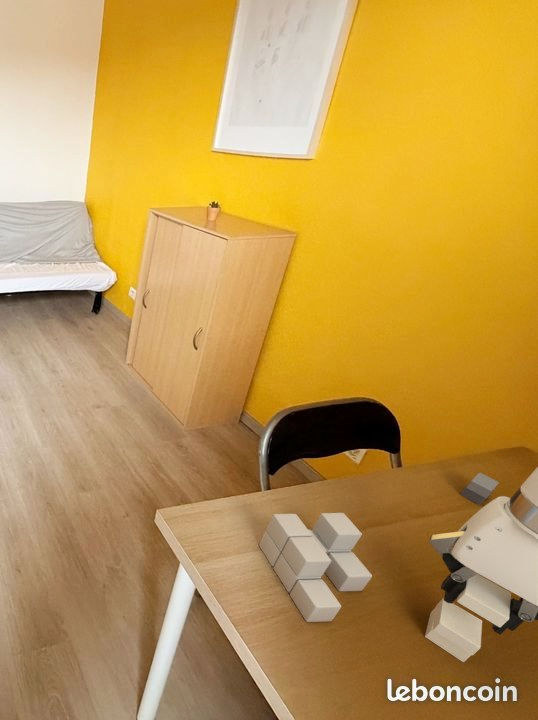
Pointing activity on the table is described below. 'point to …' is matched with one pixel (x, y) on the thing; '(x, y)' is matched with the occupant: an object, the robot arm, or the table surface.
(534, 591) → the robot arm
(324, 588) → the light grey block structure
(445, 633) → the ivory rectangular block
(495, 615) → the cream white block
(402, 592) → the table surface
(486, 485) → the grey blocks
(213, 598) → the table surface
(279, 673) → the table surface
